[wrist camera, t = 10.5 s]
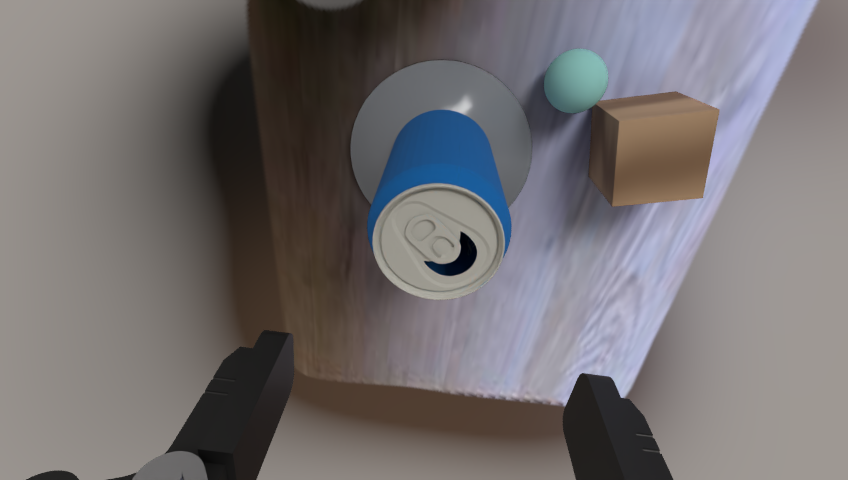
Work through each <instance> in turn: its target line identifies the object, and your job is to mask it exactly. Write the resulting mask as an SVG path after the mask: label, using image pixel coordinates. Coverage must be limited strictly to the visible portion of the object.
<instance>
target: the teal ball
mask: <svg viewBox="0 0 848 480" xmlns="http://www.w3.org/2000/svg"><path fill="white" fill-rule="evenodd" d="M607 84H608V71H607V67H606V65H605V63H604V61H603V60H602V59H601V57H600V56H598V55H597V54H596V53H594V52H592V51H590V50H586V49H573V50H569V51H566V52H564V53H562V54H561V55H559V56H558V57H557V58H556V59H555V60H554V61H553V62H552V63H551V64H550V66H549V68H548V69H547V72H546V75H545V79H544V91H545V94H546V97H547V99H548V101H549V102H550V103H551V104H552V105H553V106H554V107H555V108H556V109H558V110H560V111H562V112H566V113H579V112H583V111H585V110H588V109H589V108H591V107H593V106H594V105H595V104H596V103H597V102H598V101H599V100H600V99H601V98H602V96H603V94H604V93H605V90H606V88H607Z"/></svg>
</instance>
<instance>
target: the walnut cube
mask: <svg viewBox="0 0 848 480" xmlns="http://www.w3.org/2000/svg"><path fill="white" fill-rule="evenodd" d="M718 115H719V109H717V108H714V107H712V106H710V105H707V104H705V103H702V102H700V101H698V100H695V99H693V98H690V97H688V96H686V95H683V94H681V93H678V92H668V93H660V94H652V95H644V96H635V97H627V98H619V99H611V100H602V101H598V102H597V103H596V104H595V105H594V106H593V107H592V121H591V140H590V159H589V178H590V179H591V180H592V181H593V183H594V184H595V185H596V187H597V188H598V189H599V190H600V192H601V193H602V194H603V196H604V197H605V198H606V199H607V201H608V202H609V203H610V204H611V206H612V207H614V206H625V205H635V204H645V203H656V202H666V201H676V200H687V199H697V198H703V194H704V188H705V183H706V178H707V173H708V167H709V162H710V157H711V152H712V147H713V141H714V136H715V131H716V126H717V120H718Z"/></svg>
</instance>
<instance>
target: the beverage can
mask: <svg viewBox="0 0 848 480" xmlns="http://www.w3.org/2000/svg"><path fill="white" fill-rule="evenodd" d="M367 231H368V239H369V242H370V246H371V249H372V251H373V253H374V255H375V259H376V261H377V263H378V266H379V267H380V269H381V271H382V272H383V273H384V275H385V276H386V277H387V278H388V279H389V280H390V281H391V282H392V283H393V284H394V285H396V286H397V287H398V288H400V289H402V290H403V291H405V292H407V293H409V294H411V295H414V296H417V297H420V298H425V299H431V300H448V299H455V298H459V297H463V296H465V295H468V294H470V293H472V292H474V291H476V290H478V289H479V288H481V287H482V286H483V285H485V284H486V283H487V282H488V281H489V280H490V279H491V278H492V277H493V276H494V274H495V273H496V271H497V270H498V268H499V266H500V264H501V261H502V259H503V257H504V255H505V253H506V251H507V249H508V246H509V242H510V237H511V217H510V213H509V209H508V206H507V202H506V199H505V195H504V192H503V188H502V185H501V181H500V178H499V174H498V171H497V167H496V163H495V160H494V156H493V153H492V149H491V146H490V143H489V140H488V138H487V136H486V134H485V132H484V131H483V130H482V128H481V127H480V126H479V125H478V124H477V123H476V122H475V121H474V120H472V119H471V118H470V117H468V116H466V115H464V114H462V113H459V112H456V111H452V110H433V111H428V112H425V113H422V114H420V115H418V116H416V117H415V118H413V119H412V120H410V121H409V122H408V123H407V124H406V125H405V126H404V127H403V128H402V129H401V131H400V132H399V134H398V136H397V138H396V140H395V142H394V145H393V148H392V150H391V153H390V156H389V159H388V161H387V164H386V167H385V169H384V172H383V175H382V177H381V180H380V183H379V186H378V188H377V191H376V194H375V196H374V199H373V202H372V205H371V208H370V211H369V215H368V221H367Z"/></svg>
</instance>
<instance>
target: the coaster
mask: <svg viewBox="0 0 848 480" xmlns="http://www.w3.org/2000/svg"><path fill="white" fill-rule="evenodd" d="M433 110H452V111H456V112H459V113H462V114H464V115H466V116H468V117H470V118H471V119H472V120H474V121H475V122H476V123H477V124H478V125H479V126H480V127H481V128H482V130H483V131H484V132H485V134H486V136H487V138H488V140H489V143H490V146H491V149H492V153H493V156H494V160H495V163H496V167H497V171H498V174H499V178H500V181H501V185H502V188H503V192H504V195H505V199H506V202H507V206H508V208H509V206H510V205H511V204H512V203H513V202H514V201H515V199H516V198H517V196H518V195H519V193H520V192H521V190H522V188H523V186H524V184H525V181H526V179H527V176H528V173H529V169H530V164H531V159H532V140H531V133H530V128H529V124H528V121H527V118H526V116H525V113H524V111H523V109H522V108H521V106H520V104H519V102H518V101H517V99H516V98H515V96H514V95H513V94H512V93H511V91H510V90H509V89H508V88H507V87H506V86H505V85H504V84H503V83H502V82H501V81H500V80H499V79H497V78H496V77H494V76H493V75H492V74H490V73H489V72H487V71H485V70H483V69H481V68H479V67H477V66H474V65H471V64H469V63H465V62H460V61H456V60H443V59H441V60H428V61H423V62H419V63H415V64H412V65H409V66H407V67H404V68H402V69H400V70H399V71H397V72H395V73H393V74H392V75H390V76H389V77H388V78H386V79H385V80H383V81H382V82H381V83H380V84H379V85H378V86H377V87H376V88H375V89H374V90H373V92H372V93H371V94H370V95H369V97H368V98H367V99H366V100H365V102H364V104H363V106H362V107H361V109H360V111H359V113H358V116H357V118H356V120H355V123H354V127H353V131H352V137H351V161H352V167H353V171H354V174H355V178H356V180H357V183H358V185H359V187H360V189H361V191H362V192H363V194H364V196H365V197H366V199H367V200H368V201H369V203H370V204H371V205H372V202H373V199H374V196H375V194H376V191H377V188H378V186H379V183H380V180H381V177H382V175H383V172H384V169H385V167H386V164H387V161H388V159H389V156H390V153H391V150H392V148H393V145H394V142H395V140H396V138H397V136H398V134H399V132H400V131H401V129H402V128H403V127H404V126H405V125H406V124H407V123H408V122H409V121H410V120H412V119H413V118H415V117H416V116H418V115H420V114H422V113H425V112H428V111H433Z"/></svg>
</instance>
